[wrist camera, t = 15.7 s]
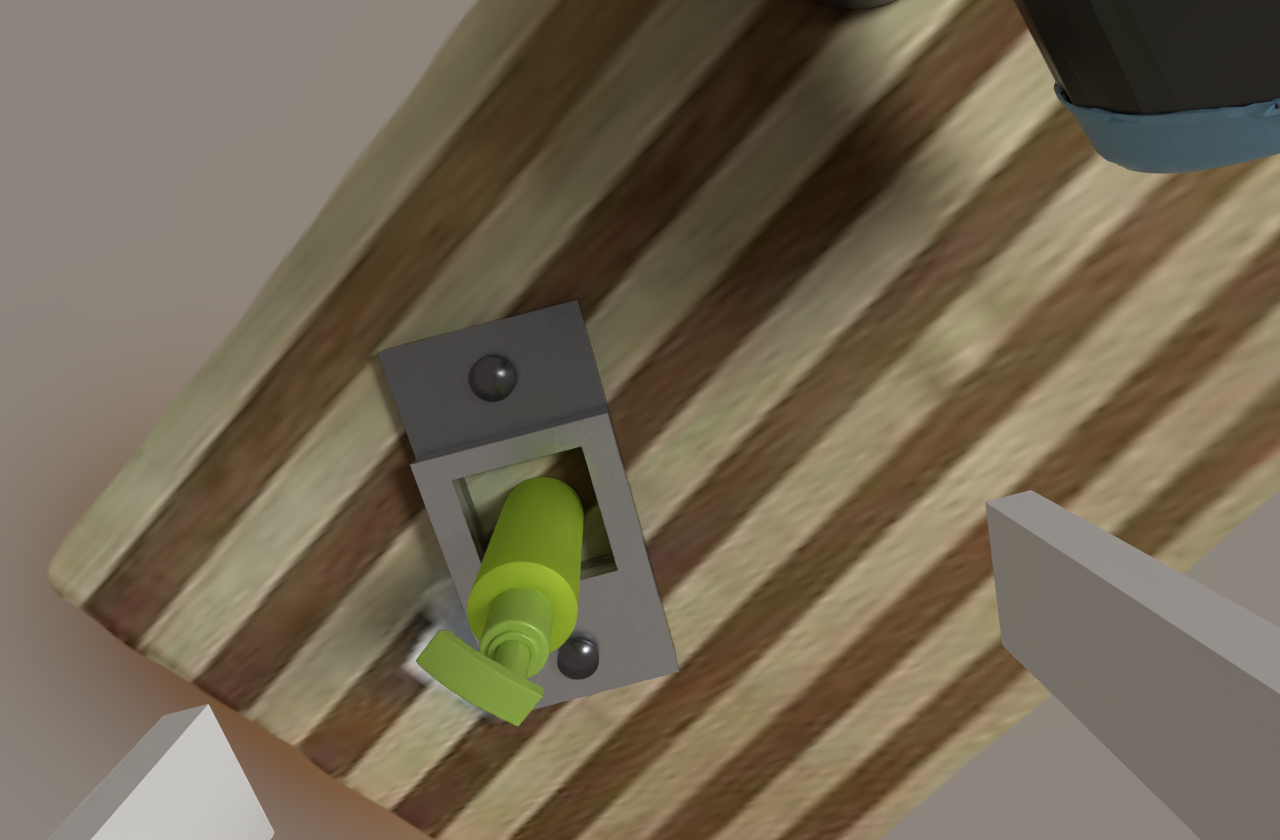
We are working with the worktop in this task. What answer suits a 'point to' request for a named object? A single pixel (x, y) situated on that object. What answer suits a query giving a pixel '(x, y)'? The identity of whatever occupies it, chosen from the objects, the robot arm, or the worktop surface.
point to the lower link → (496, 384)
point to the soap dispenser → (517, 602)
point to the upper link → (608, 594)
